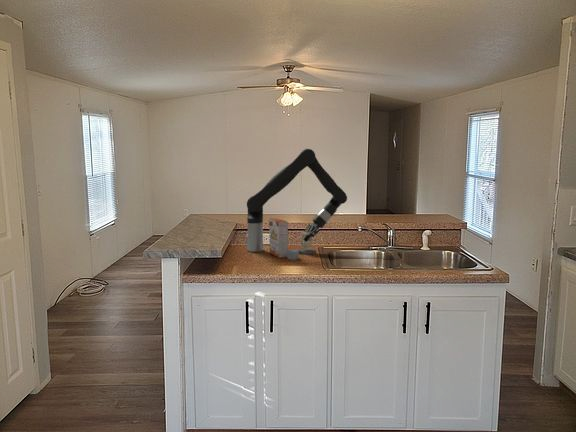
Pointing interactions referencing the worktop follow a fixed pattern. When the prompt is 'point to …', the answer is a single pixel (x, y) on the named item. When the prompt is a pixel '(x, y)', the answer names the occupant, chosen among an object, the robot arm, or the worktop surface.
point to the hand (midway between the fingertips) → (303, 239)
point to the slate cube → (293, 254)
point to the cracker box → (278, 237)
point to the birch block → (303, 242)
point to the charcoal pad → (306, 251)
